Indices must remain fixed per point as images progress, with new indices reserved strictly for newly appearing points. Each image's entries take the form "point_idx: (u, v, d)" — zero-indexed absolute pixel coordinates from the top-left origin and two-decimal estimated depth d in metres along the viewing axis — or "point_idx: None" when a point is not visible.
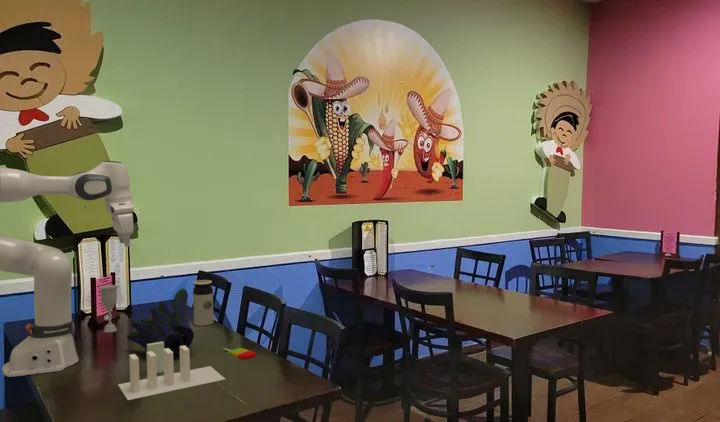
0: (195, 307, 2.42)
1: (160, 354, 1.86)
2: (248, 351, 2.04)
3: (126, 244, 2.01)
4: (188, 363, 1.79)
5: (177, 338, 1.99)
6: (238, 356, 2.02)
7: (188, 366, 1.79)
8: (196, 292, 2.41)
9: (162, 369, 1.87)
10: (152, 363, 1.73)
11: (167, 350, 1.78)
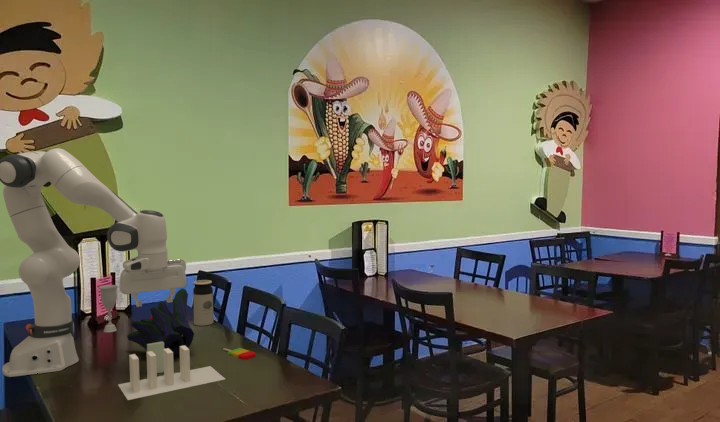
0: (195, 307, 2.42)
1: (160, 354, 1.86)
2: (248, 352, 2.04)
3: (136, 303, 1.82)
4: (188, 363, 1.79)
5: (177, 338, 1.99)
6: (238, 356, 2.02)
7: (188, 366, 1.79)
8: (196, 292, 2.41)
9: (162, 369, 1.87)
10: (152, 363, 1.73)
11: (167, 350, 1.78)
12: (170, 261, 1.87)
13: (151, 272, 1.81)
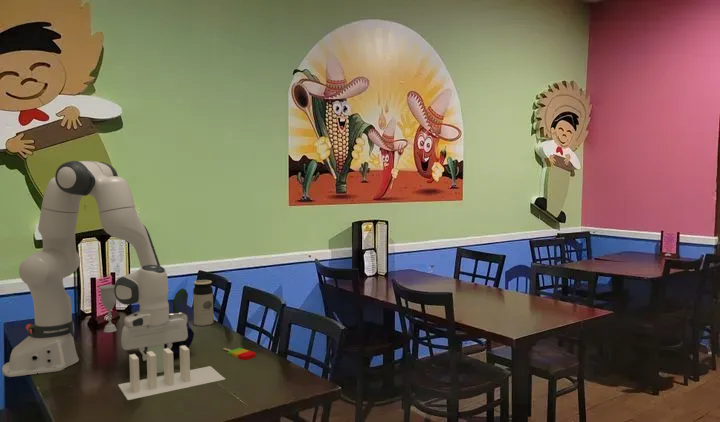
0: (195, 307, 2.42)
1: (160, 354, 1.86)
2: (248, 352, 2.04)
3: None
4: (188, 363, 1.79)
5: None
6: (238, 356, 2.02)
7: (188, 366, 1.79)
8: (196, 292, 2.41)
9: (162, 369, 1.87)
10: (152, 363, 1.73)
11: (167, 350, 1.78)
12: (171, 315, 1.88)
13: (153, 327, 1.83)
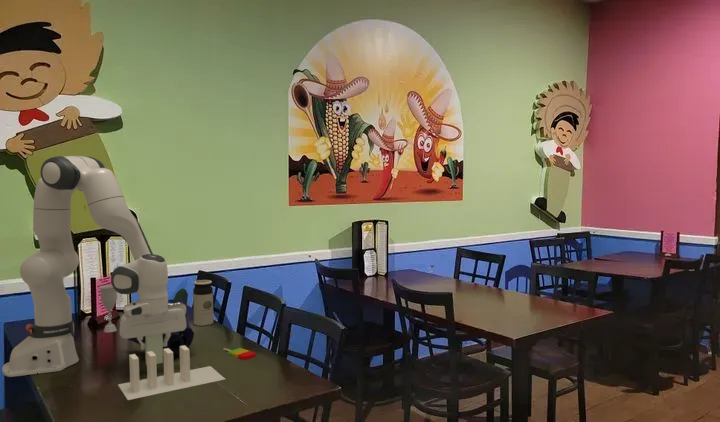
0: (195, 307, 2.42)
1: (158, 344, 1.86)
2: (248, 352, 2.04)
3: (141, 346, 1.84)
4: (188, 363, 1.79)
5: (177, 338, 1.99)
6: (238, 356, 2.02)
7: (188, 366, 1.79)
8: (196, 292, 2.41)
9: (160, 359, 1.87)
10: (152, 363, 1.73)
11: (167, 350, 1.78)
12: (170, 305, 1.88)
13: (151, 317, 1.82)
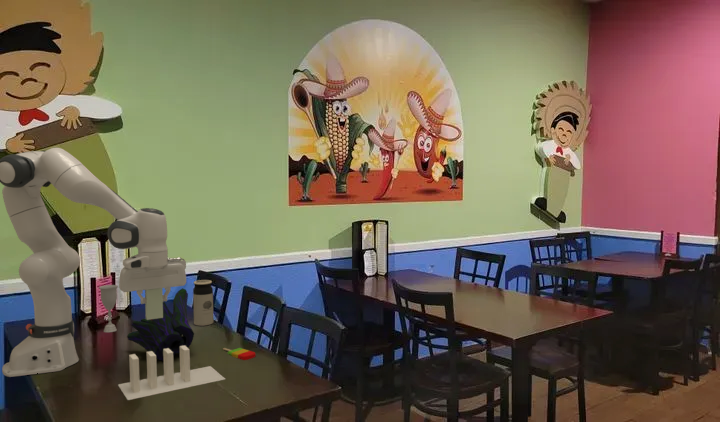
0: (195, 307, 2.42)
1: (158, 298, 1.85)
2: (248, 352, 2.04)
3: None
4: (188, 363, 1.79)
5: (177, 338, 1.99)
6: (238, 356, 2.01)
7: (188, 366, 1.79)
8: (196, 292, 2.41)
9: (160, 314, 1.86)
10: (152, 363, 1.73)
11: (167, 350, 1.78)
12: (170, 259, 1.86)
13: (151, 270, 1.81)
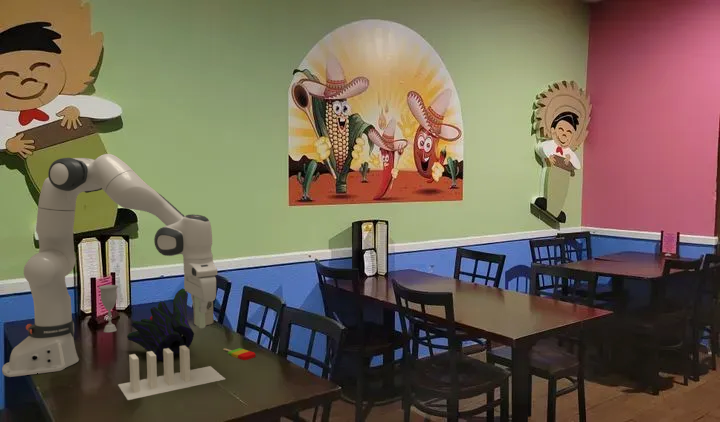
0: None
1: None
2: (248, 352, 2.04)
3: (202, 310, 1.79)
4: (188, 363, 1.79)
5: (177, 338, 1.99)
6: (238, 357, 2.01)
7: (188, 366, 1.79)
8: None
9: None
10: (152, 363, 1.73)
11: (167, 350, 1.78)
12: None
13: None
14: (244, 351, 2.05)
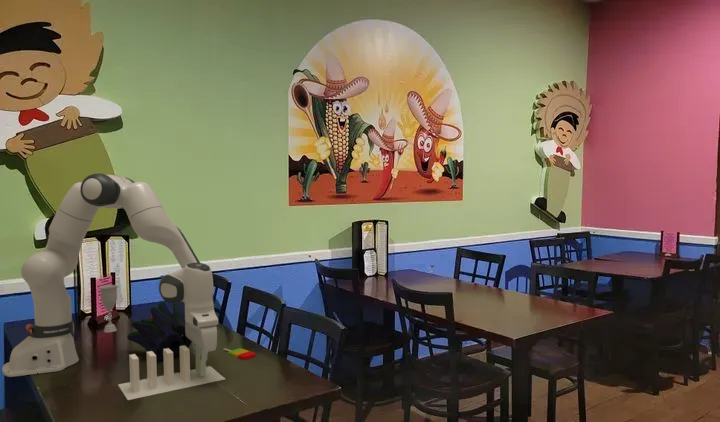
0: None
1: None
2: (248, 352, 2.04)
3: (203, 358, 1.80)
4: (188, 363, 1.79)
5: (177, 338, 1.99)
6: (238, 357, 2.01)
7: (188, 366, 1.79)
8: None
9: None
10: (152, 363, 1.73)
11: (167, 350, 1.78)
12: None
13: None
14: (244, 351, 2.05)
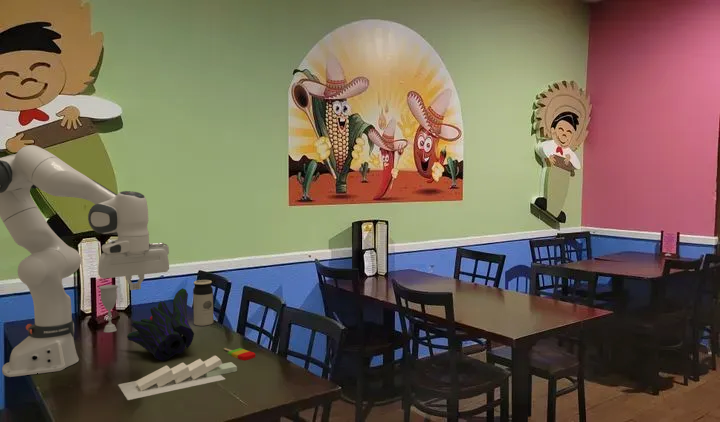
0: (195, 307, 2.42)
1: None
2: (248, 352, 2.04)
3: (130, 287, 1.77)
4: (209, 369, 1.83)
5: (177, 338, 1.99)
6: (238, 357, 2.01)
7: (206, 370, 1.82)
8: (196, 292, 2.41)
9: None
10: (181, 371, 1.78)
11: (202, 362, 1.84)
12: (152, 244, 1.79)
13: (131, 255, 1.74)
14: (244, 351, 2.05)
